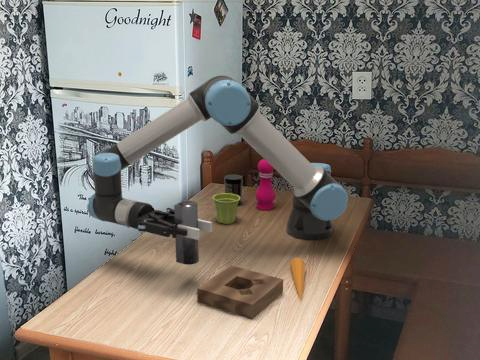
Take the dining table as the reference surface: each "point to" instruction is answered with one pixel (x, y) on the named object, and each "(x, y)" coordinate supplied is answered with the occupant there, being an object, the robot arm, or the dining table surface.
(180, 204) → the d peg
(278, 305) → the dining table surface
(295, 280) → the carrot
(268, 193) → the pepper mill
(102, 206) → the robot arm
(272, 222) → the dining table surface
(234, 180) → the supplement container
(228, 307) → the socket block
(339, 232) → the dining table surface
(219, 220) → the plant pot
